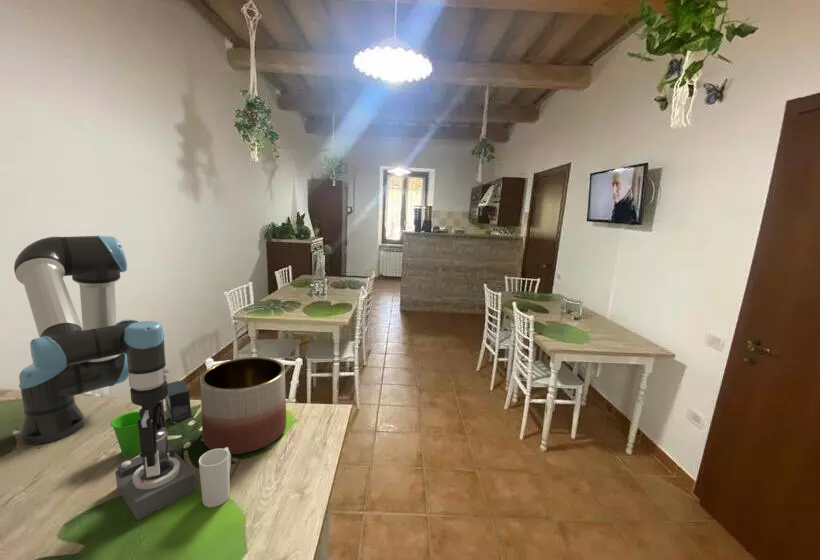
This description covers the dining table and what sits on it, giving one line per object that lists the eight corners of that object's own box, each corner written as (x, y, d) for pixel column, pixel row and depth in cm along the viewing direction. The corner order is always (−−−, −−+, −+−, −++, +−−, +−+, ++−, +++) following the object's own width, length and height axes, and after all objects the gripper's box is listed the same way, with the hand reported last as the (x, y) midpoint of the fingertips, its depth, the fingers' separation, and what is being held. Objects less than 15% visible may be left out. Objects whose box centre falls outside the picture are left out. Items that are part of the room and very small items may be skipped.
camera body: (117, 488, 96) (114, 463, 94) (172, 463, 106) (170, 440, 105) (137, 520, 86) (134, 494, 85) (196, 489, 96) (194, 465, 95)
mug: (220, 510, 90) (218, 467, 88) (195, 507, 91) (192, 464, 89) (242, 481, 100) (241, 442, 98) (219, 478, 101) (217, 439, 99)
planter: (286, 408, 137) (285, 354, 134) (286, 450, 114) (285, 385, 110) (211, 417, 129) (208, 359, 125) (194, 464, 106) (189, 395, 102)
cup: (132, 464, 105) (128, 429, 103) (106, 458, 107) (102, 424, 105) (159, 445, 114) (156, 413, 112) (135, 440, 115) (131, 408, 113)
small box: (164, 410, 133) (162, 383, 131) (185, 404, 137) (183, 379, 135) (170, 423, 125) (168, 395, 123) (192, 416, 129) (190, 389, 128)
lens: (140, 477, 90) (137, 441, 89) (147, 463, 95) (143, 428, 94) (167, 472, 93) (164, 437, 91) (172, 458, 98) (169, 425, 96)
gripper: (157, 399, 83) (165, 488, 87) (174, 367, 100) (180, 443, 104) (117, 404, 80) (127, 496, 84) (141, 370, 97) (149, 448, 101)
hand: (156, 466), depth 94 cm, fingers closed on lens, 5 cm apart
